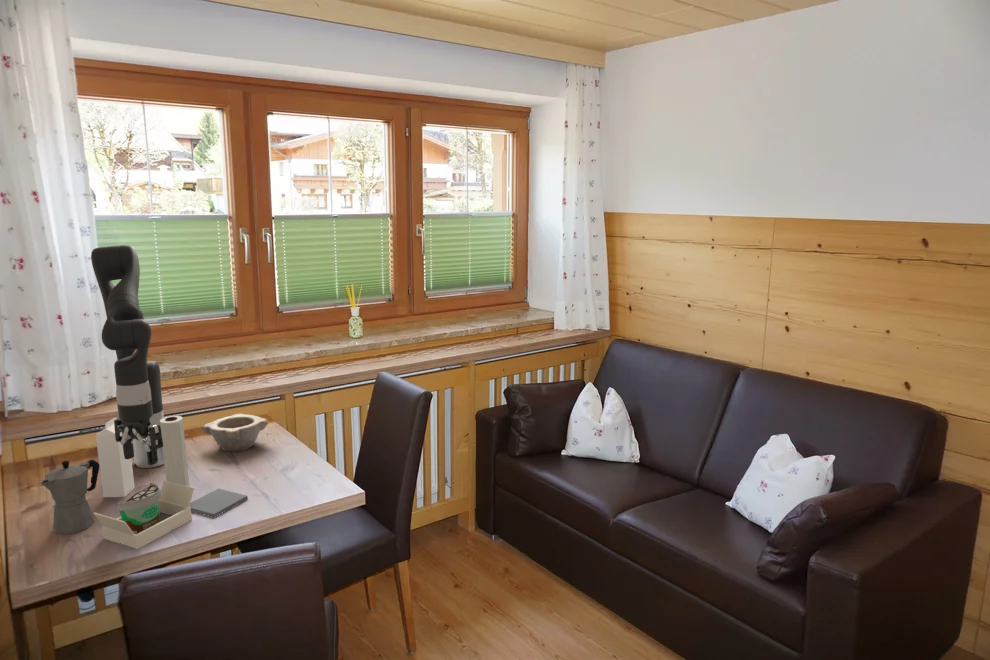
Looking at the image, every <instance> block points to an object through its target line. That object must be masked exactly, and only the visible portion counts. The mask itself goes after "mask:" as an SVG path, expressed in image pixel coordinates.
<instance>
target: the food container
mask: <svg viewBox="0 0 990 660" xmlns="http://www.w3.org/2000/svg"><path fill="white" fill-rule="evenodd" d="M161 490H162V489H161V488H160V487H159V485H158V484H157V483H154V482H149V486H147V487H146V488H145V489H143V490H141V491H138V492H136V493H135V494H133V495H131V496H130V497H129V498H128V499H127V500H125V501H118V503H117V511H119V513H120V517H121V518H122V521H125V522H126V523H127V525H128V526H129V527H130V529H131V530H132V531H133V533H134V534H138V533H140V532H142V531H144V530H146V529H148V528H150V527H151V526H153V525H155V524H157V523H159V522H161V521H160V512H159V499H160V498H161V497H162V493H161Z"/></svg>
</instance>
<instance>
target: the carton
mask: <svg viewBox="0 0 990 660" xmlns="http://www.w3.org/2000/svg"><path fill="white" fill-rule="evenodd" d="M160 490H161V493H162V497H161V498H160V499H159V513H162V514H164V513H165V515H169V516H168V517H167V518H165V519H163V520H162V521H160V522H159V523H157V524H155V525H153V526H151V527H150V528H148V529H146V530H144V531H142V532H140V533H138V534H134V533H133V531H132V530H131V529H130V527H129V526H128V525H127V523H126V522H125V521H122V518H121V516H119V517H117V518H115V517H111V516H108V515H105V514H101V513H98V512H95V511H94V512H93V515H94V516H95V518H97V520H98V521H99V522H100V524H101V527H102V535H103V536H102V537H103V539H105V540H108V541H110V542H115V543H117V544H120V543H121V544H120V545H123V544H124V545H123V546H126V545H127V547H129V548H133V549H137V550H138V549H140V548H142V547H144V546H146V545H148V544H150V543H151V542H153V541H155V540H157V539H159V538H160V537H161V538H162V537H163V536H164V535H166V534H169V533H170V532H172V531H173V529H174V530H175V528H176V529H177V527H178V528H179V527H181V526H182V524H183V525H185V524H186V522H187V523H189V522H191V521H192V519H193V518H192V511H191V508H190V507H189V506H190V503H191V502H192V497H193V494H194V490H195V487H192V486H191V487H190V486H189V487H187V486H183V485H179V484H176V483H172V482H168V481H166V480H163V481H162V486H161V489H160ZM171 515H172V516H171ZM190 520H191V521H190ZM188 521H189V522H188ZM171 530H172V531H171Z"/></svg>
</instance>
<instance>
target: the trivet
mask: <svg viewBox="0 0 990 660" xmlns="http://www.w3.org/2000/svg"><path fill="white" fill-rule="evenodd" d="M248 498H249V497H248V495H246V494H242V493H239V492H234V491H231V490H226V489H222V488H216V489H214V490H213V491H211V492H209V493H206V494H205V495H203V496H201V497H200V498H198V499H195V500H194V501H191V502H190V506H189V507H190V508H191V512H192V511H193V512H192V513H196V512H197V514H200V513H201V514H200V515H203V514H205V515H204V516H207V515H209V516H208V517H210V516H212V517H211V518H216V517H218V516H220V515H221V514H223V513H225V512H226V510H227V511H228V509H229V510H231V509H232V508H234V507H236V506H238V505H239V504H241V503H242V502H245V501H246V500H248ZM237 504H238V505H237ZM235 505H236V506H235ZM233 506H234V507H233ZM224 511H225V512H224ZM222 512H223V513H222ZM219 514H220V515H219ZM217 515H218V516H217ZM215 516H216V517H215Z"/></svg>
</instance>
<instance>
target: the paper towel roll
mask: <svg viewBox="0 0 990 660" xmlns="http://www.w3.org/2000/svg"><path fill="white" fill-rule="evenodd" d="M183 419H184V418H183V416H180V415H171V416H166V417H165V416H164V418H162V419H161V420H160V426H161V433H162V440H163V447H162V448H163V458H164V464H163V467H164V475H165V481H168V482H172V483H176V484H179V485H183V486H187V487H190V480H189V470H188V460H187V459H188V458H187V450H186V448H187V447H186V438H185V429H184V420H183Z"/></svg>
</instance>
